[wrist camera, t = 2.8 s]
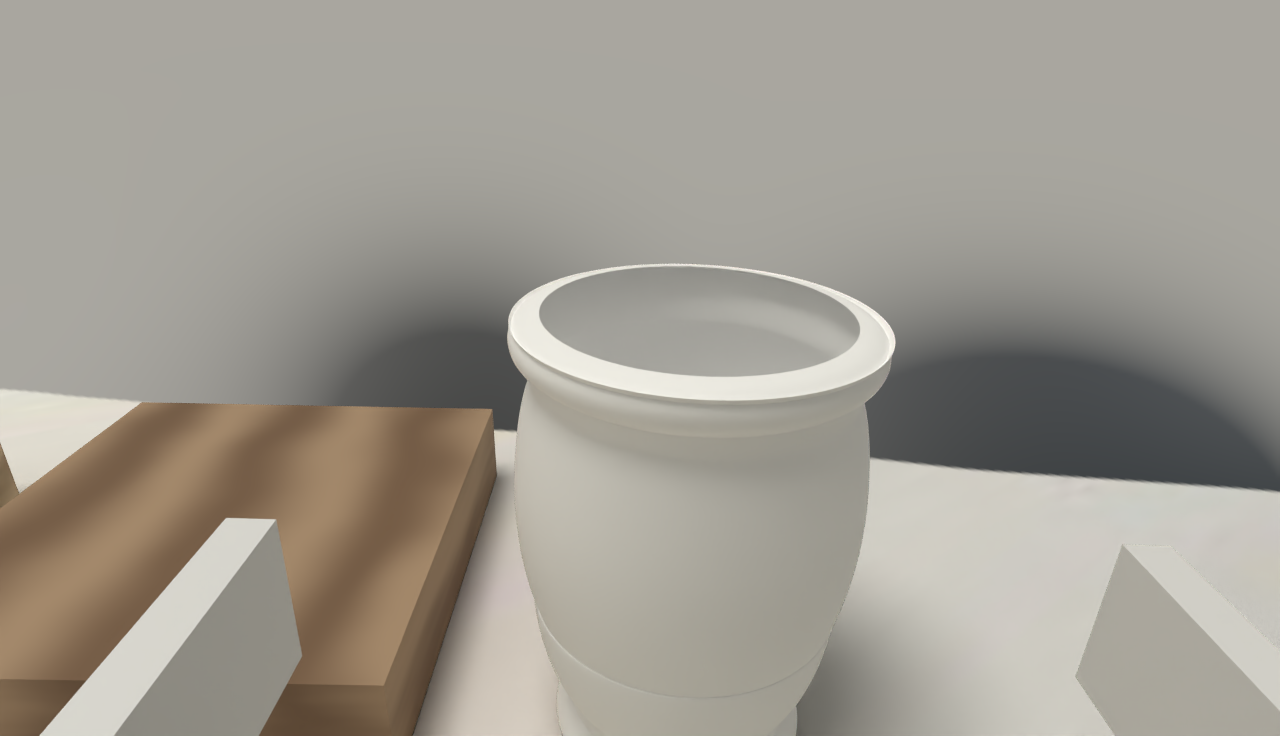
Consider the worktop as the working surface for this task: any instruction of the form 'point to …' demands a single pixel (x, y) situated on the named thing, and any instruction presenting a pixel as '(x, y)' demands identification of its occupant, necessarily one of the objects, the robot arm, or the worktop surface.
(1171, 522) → the worktop surface
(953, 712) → the worktop surface
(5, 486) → the oak cube
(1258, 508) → the worktop surface
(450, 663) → the worktop surface
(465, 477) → the walnut slab
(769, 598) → the jar
